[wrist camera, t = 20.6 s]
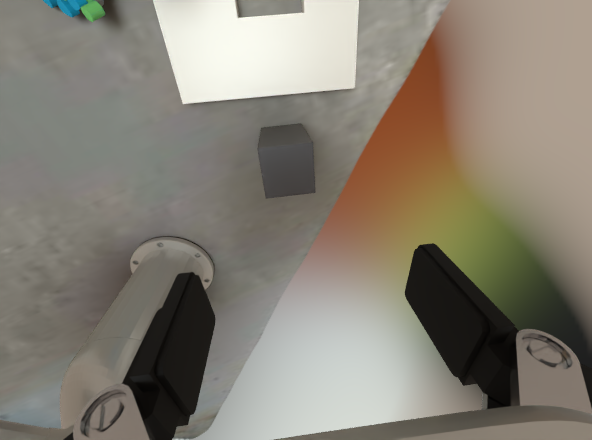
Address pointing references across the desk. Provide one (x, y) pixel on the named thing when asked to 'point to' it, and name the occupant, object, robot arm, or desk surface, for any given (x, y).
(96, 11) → the blue spiky figurine
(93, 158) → the desk surface
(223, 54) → the socket block
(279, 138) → the plug
